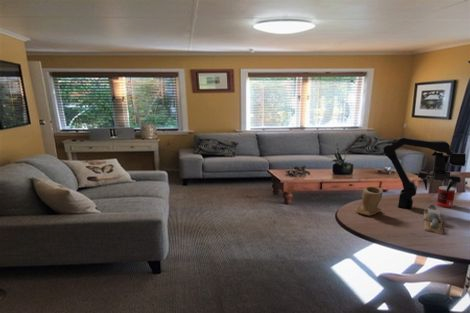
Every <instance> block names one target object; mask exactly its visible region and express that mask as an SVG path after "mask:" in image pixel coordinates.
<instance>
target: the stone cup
mask: <svg viewBox="0 0 470 313" xmlns="http://www.w3.org/2000/svg"><path fill="white" fill-rule="evenodd" d="M361 196H362V197H361V200H362V205H360V206H358V207H357V208H355V211H356V213H359V214H361V215H364V216H374V215H375V214H377V213H379V212H380V211H382V208H381V207H380V206H379V204H380V202H381V200H382V197H383V191H382V189H381V188H379V187H377V186H373V185H371V186H370V185H369V186H366V187H365V188H364V189H363V191H362V195H361Z"/></svg>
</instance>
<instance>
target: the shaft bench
mask: <svg viewBox="0 0 470 313" xmlns="http://www.w3.org/2000/svg"><path fill="white" fill-rule="evenodd" d="M428 209H433V210H437V208H436V206H435V205H434V204H430V205H429V207H427V210H426V209H424V210H423V225H424V226H423V227H424V228H423V229H424V231H425V232H429V233H435V234H440V235H444V229H443V218H442V217H441V216H440V219H438V218H437V217H432V218H431V219H430V220H431V222H430V221H427V212H428Z"/></svg>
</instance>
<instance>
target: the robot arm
mask: <svg viewBox="0 0 470 313" xmlns="http://www.w3.org/2000/svg"><path fill="white" fill-rule="evenodd" d="M405 145H406V146H412V147H418V148H424V149H425V148H426V149H430V150H432V151H433V152H431V154H430V155H431V156H432V157H434V159H433V160H434V161H433V167H432V173H428V172H427V171H421V170H419V171H418V172H417V177H418V179H420V180H422V182H423V183H424V184H423V185H424V187H425V191H427V190H428V178H433V180H435V181H443V182H444V181H446V180H448V183H447V185H446V186H447V189H446V193H448V191H449V189H450V188H451V187H452V186H454V185H455V184H456V185H457V183H461V180H462V178H461V176H460V175H459V174H451V171H447V165H448V164H450V166H455V167H465V166H466V155H467V154H466V153H463V152H462V153H460V152H459V153H458V152H453V150H451V146H450V144H449V142H447V141H446V140H424V139H417V138H411V137H406V136H401V137H400V138H399V139H398V140H395V141H394V142H391V143H387V144H386V145H385V146H383V153H384V154H385V155H386V157H387V158H388V159H389V160H390V162H391V163H392V165H393V168H394V170H395V171H396V173H397V176H398V177H399V179H400V181H401V183H402V190H400V192H399V196H398V205H397V208H400V209H407V210H412V208H413V202H414V200H413V197H415V196H416V194H417V190H418V186H417V184H416V182H415V181H414V180H410V178H409V176H408V174H407V172H406V171H405V169H404V167H403V164H402V163H401V161H400V159H399V157H398V151H397V150H398V149H400V148H401V147H403V146H405Z"/></svg>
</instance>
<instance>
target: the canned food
mask: <svg viewBox="0 0 470 313" xmlns="http://www.w3.org/2000/svg"><path fill="white" fill-rule="evenodd" d="M447 186H448V185H441V186H439V187H438V192H437V200H436V205H437V206H438V207H441V208H447V209H449V208H450V209H451V208H452V207H453V204H454V200H455V194H456V188H454V187H452V186H451V188H450V189H449V191H448V193H446V189H447Z"/></svg>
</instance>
